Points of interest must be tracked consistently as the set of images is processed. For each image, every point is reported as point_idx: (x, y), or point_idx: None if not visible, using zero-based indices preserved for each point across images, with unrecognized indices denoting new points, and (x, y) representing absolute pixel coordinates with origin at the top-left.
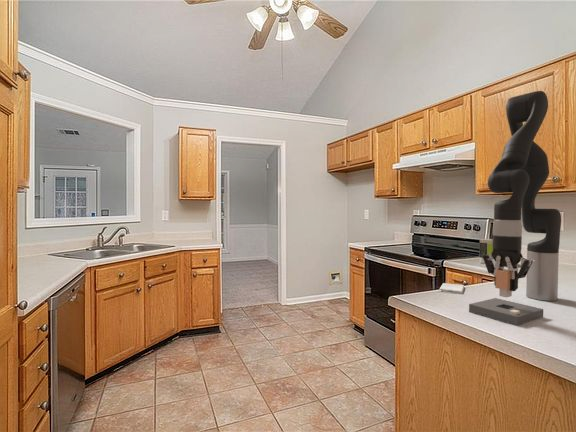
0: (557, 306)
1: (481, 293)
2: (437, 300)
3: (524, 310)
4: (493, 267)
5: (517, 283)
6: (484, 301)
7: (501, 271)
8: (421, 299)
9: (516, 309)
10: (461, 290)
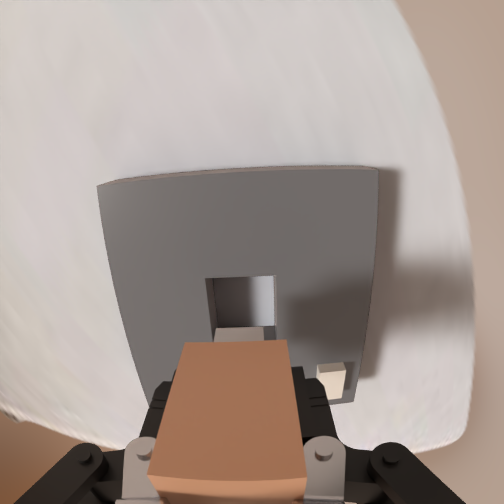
0: None
1: None
2: (17, 345)
3: (335, 297)
4: (80, 492)
5: (330, 418)
6: (132, 321)
7: None
8: (9, 375)
9: (303, 315)
10: None
